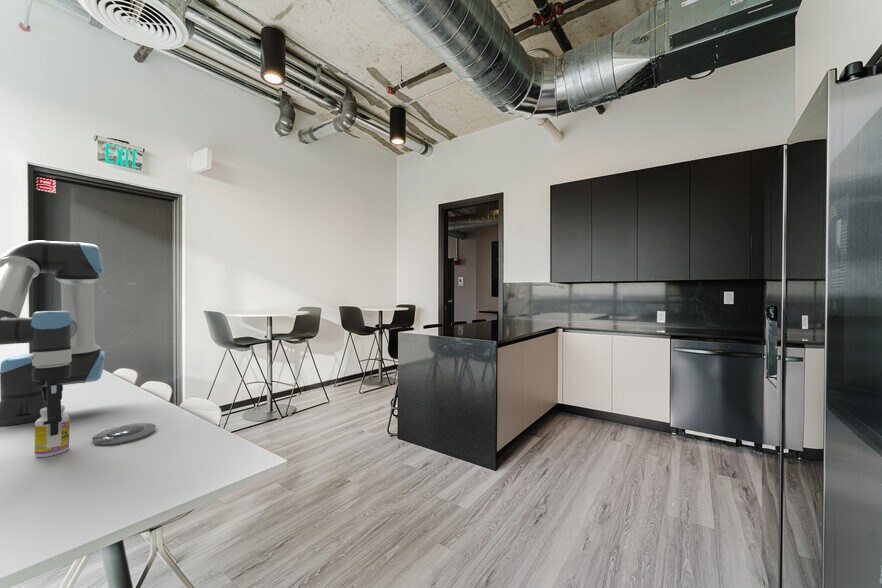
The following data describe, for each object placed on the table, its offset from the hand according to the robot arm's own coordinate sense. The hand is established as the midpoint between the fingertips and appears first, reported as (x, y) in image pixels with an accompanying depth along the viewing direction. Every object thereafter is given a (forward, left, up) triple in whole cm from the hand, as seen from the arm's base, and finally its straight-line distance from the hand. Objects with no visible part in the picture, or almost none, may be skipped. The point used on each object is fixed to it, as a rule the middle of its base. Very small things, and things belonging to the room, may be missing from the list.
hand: (52, 440), depth 100 cm
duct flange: (+10, +12, -4) cm, 16 cm away
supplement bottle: (0, 0, -4) cm, 4 cm away
